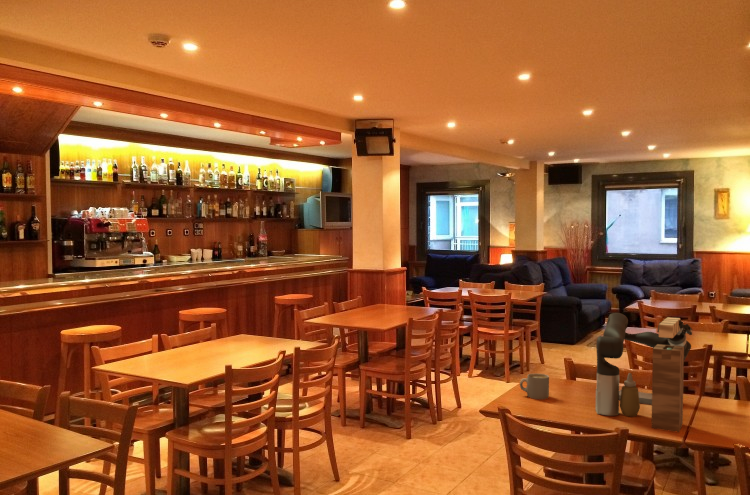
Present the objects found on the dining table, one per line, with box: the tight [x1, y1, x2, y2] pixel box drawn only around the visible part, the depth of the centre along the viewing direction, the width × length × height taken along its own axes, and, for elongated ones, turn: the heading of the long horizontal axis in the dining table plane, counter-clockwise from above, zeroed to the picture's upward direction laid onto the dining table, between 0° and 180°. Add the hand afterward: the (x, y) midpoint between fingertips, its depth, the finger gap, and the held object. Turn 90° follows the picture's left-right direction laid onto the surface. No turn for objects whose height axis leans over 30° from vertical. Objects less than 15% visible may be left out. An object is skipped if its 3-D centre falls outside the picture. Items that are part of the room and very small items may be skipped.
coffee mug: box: [519, 372, 550, 400], centre depth 301 cm, size 13×10×10 cm
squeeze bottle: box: [619, 372, 641, 417], centre depth 271 cm, size 8×8×18 cm
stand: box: [651, 344, 685, 433], centre depth 255 cm, size 12×10×32 cm
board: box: [619, 389, 652, 406], centre depth 293 cm, size 26×11×2 cm, turn 58°
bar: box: [658, 316, 681, 338], centre depth 257 cm, size 24×5×5 cm, turn 148°
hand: (672, 321), depth 264 cm, fingers closed on bar, 5 cm apart
